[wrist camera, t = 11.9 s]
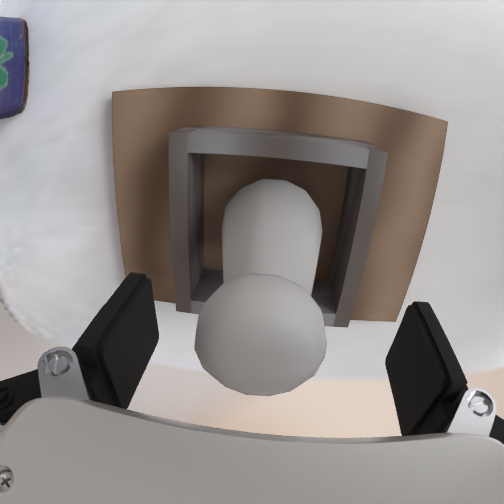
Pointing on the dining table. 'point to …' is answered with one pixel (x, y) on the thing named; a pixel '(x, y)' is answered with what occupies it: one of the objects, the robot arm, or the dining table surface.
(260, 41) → the dining table surface
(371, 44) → the dining table surface
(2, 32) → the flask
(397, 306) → the holder board
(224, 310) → the salt shaker
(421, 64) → the dining table surface
